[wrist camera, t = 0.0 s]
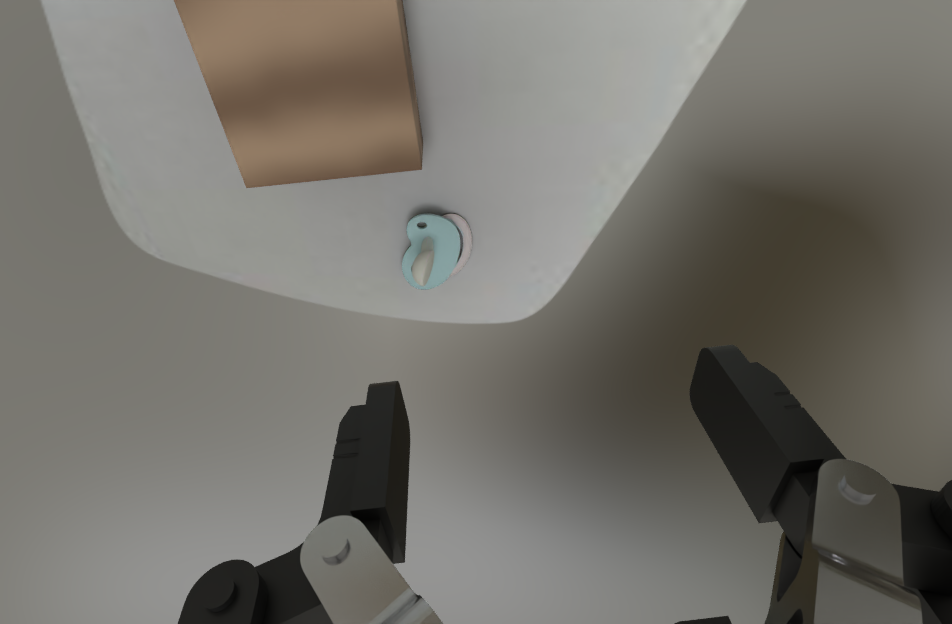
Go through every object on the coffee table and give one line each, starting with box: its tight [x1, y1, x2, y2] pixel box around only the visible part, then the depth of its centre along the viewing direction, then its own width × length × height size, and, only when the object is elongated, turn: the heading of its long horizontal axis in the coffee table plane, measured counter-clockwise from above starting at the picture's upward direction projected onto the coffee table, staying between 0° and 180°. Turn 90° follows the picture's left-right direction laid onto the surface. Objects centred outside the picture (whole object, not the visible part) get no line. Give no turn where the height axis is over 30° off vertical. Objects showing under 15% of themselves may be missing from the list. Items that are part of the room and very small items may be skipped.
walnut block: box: [174, 0, 423, 188], centre depth 31 cm, size 12×12×6 cm
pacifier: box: [402, 214, 472, 290], centre depth 40 cm, size 7×6×6 cm
